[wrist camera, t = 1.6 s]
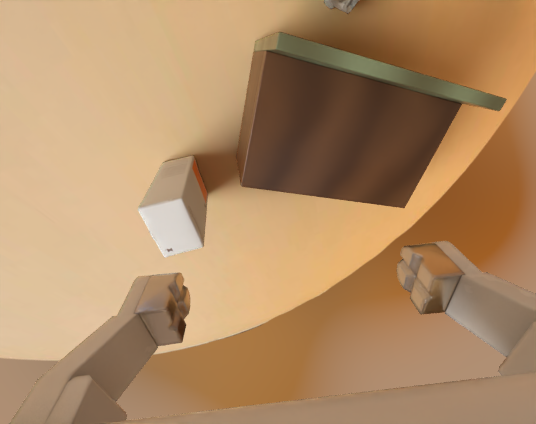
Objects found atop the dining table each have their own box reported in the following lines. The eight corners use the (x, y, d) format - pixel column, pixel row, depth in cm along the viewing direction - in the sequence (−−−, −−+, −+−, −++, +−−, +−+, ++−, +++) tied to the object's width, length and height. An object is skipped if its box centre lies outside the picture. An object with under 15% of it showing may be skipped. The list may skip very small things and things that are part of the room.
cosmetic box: (209, 194, 36) (205, 249, 26) (179, 201, 36) (163, 259, 25) (194, 152, 32) (182, 197, 22) (160, 161, 32) (134, 209, 22)
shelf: (236, 156, 34) (243, 206, 23) (255, 40, 27) (279, 31, 16) (368, 178, 39) (427, 227, 28) (410, 84, 32) (507, 99, 21)
